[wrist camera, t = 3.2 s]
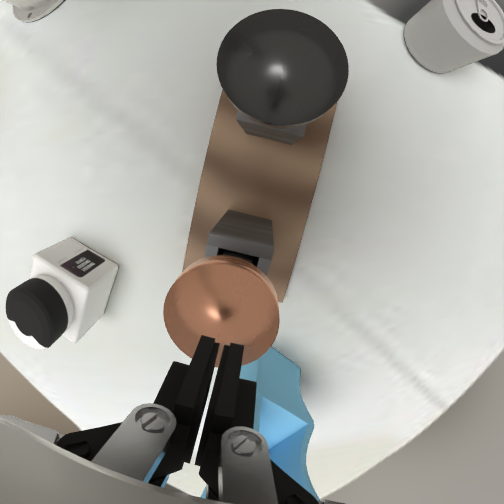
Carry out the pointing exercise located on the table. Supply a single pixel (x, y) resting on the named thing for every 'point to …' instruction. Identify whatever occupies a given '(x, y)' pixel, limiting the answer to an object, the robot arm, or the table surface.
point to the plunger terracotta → (223, 306)
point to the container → (61, 294)
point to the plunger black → (282, 68)
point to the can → (455, 33)
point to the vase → (281, 414)
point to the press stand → (257, 191)
